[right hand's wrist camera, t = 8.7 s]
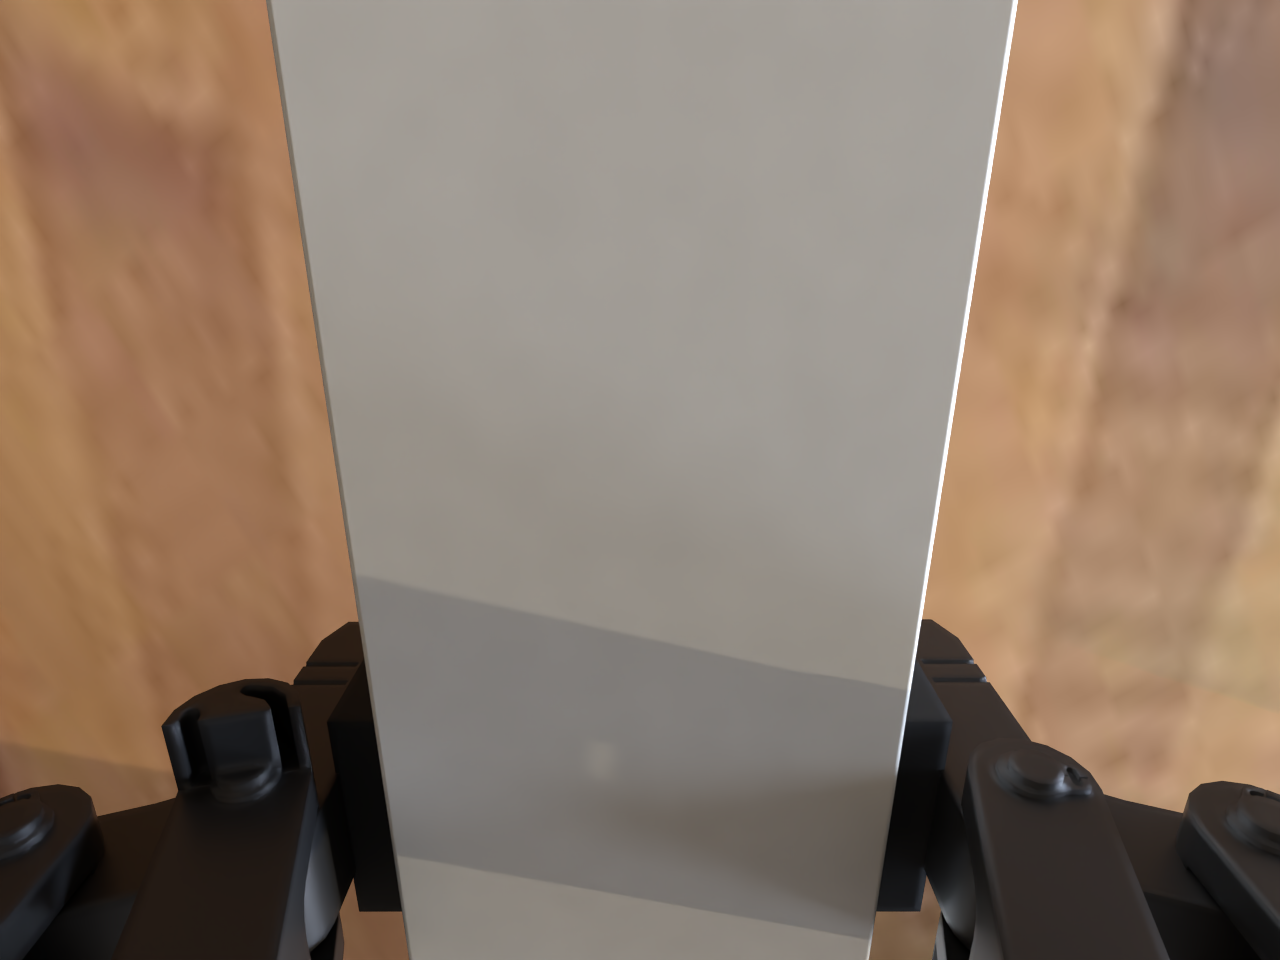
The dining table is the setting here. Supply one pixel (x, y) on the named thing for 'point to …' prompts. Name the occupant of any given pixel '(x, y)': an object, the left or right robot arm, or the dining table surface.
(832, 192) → the bar
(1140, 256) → the dining table surface
